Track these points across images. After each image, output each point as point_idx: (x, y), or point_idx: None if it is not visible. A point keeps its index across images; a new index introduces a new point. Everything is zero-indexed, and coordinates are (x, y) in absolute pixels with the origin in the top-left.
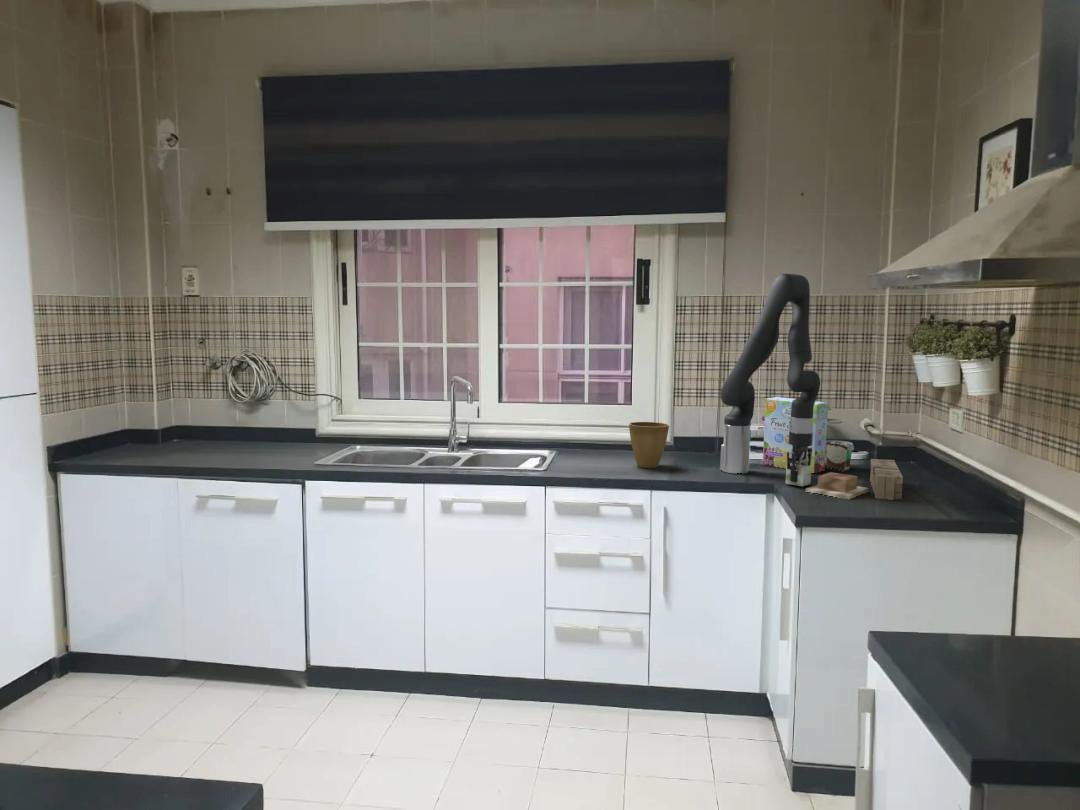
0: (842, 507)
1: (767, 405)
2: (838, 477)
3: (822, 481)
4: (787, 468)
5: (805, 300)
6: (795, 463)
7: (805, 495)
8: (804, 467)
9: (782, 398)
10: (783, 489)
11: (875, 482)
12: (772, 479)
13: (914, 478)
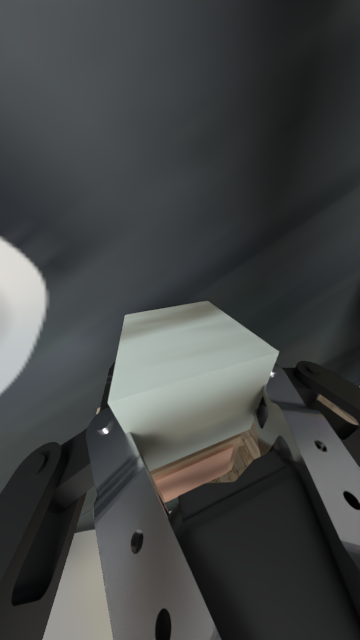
0: None
1: None
2: (171, 493)
3: None
4: (24, 462)
5: None
6: (56, 573)
7: (60, 432)
8: (183, 452)
9: None
10: (47, 355)
11: (218, 477)
12: (206, 160)
13: (353, 380)
